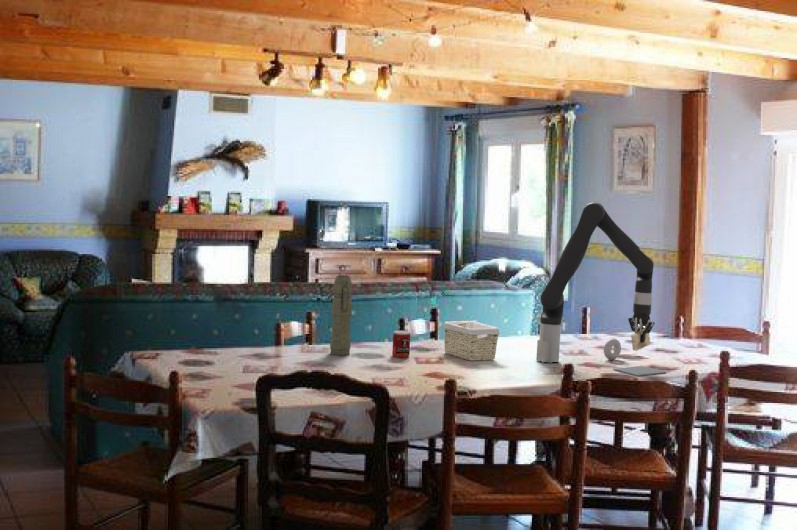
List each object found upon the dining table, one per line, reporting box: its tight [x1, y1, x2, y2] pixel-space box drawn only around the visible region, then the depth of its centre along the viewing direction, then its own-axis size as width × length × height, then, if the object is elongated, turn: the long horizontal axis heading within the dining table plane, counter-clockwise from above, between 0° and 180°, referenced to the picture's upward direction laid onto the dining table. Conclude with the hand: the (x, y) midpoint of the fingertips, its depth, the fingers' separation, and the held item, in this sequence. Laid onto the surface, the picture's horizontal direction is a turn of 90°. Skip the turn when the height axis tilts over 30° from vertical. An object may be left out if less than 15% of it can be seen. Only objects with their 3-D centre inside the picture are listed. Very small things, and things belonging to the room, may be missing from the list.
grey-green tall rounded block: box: [329, 274, 353, 357], centre depth 437 cm, size 9×12×35 cm
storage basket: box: [443, 320, 500, 362], centre depth 448 cm, size 24×16×15 cm
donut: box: [603, 338, 622, 361], centre depth 456 cm, size 10×4×10 cm, turn 125°
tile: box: [630, 329, 651, 352], centre depth 432 cm, size 9×2×7 cm, turn 124°
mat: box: [612, 365, 667, 377], centre depth 430 cm, size 18×14×1 cm
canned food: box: [391, 330, 411, 359], centre depth 439 cm, size 8×8×11 cm
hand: (639, 342), depth 432 cm, fingers closed on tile, 2 cm apart
